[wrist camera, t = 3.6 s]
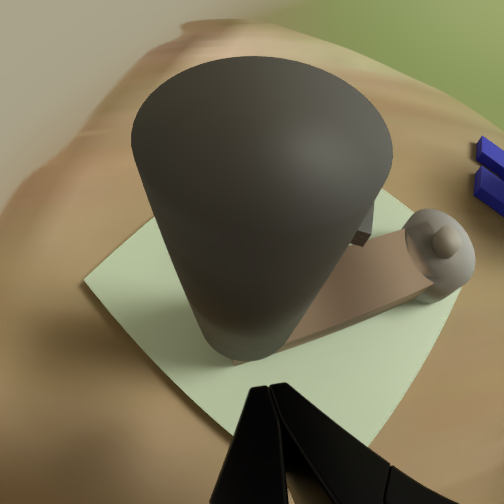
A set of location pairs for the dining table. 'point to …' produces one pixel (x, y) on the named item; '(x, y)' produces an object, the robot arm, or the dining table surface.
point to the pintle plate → (279, 364)
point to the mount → (490, 175)
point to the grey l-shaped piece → (282, 205)
